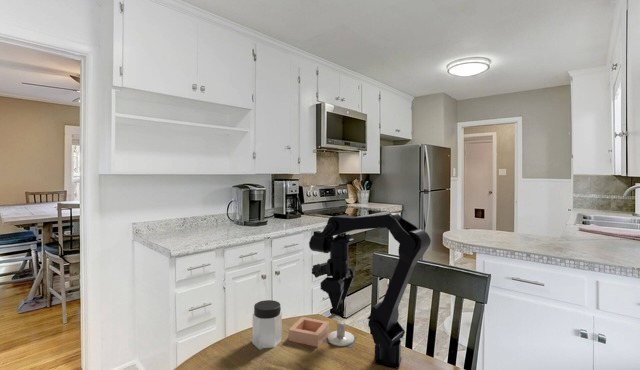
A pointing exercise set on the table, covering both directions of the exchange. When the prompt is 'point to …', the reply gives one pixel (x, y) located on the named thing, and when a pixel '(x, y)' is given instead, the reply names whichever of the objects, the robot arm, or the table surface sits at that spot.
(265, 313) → the jar
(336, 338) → the lid
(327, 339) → the mat
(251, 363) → the table surface
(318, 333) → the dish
